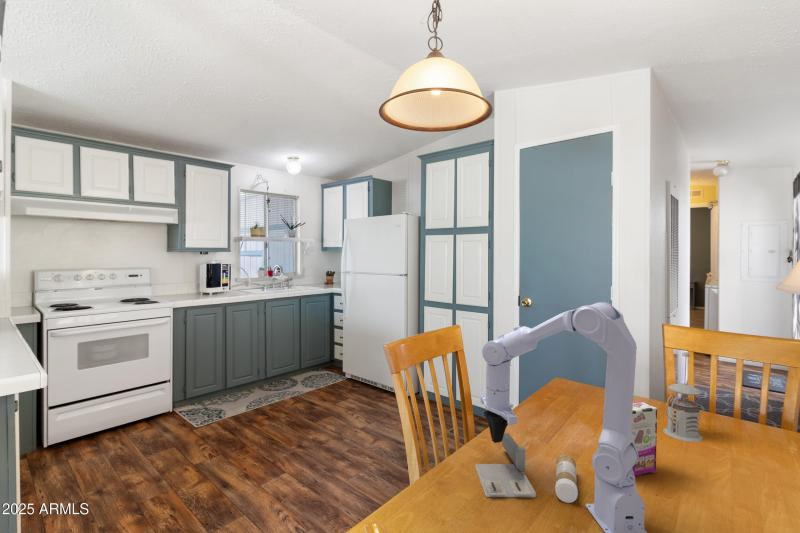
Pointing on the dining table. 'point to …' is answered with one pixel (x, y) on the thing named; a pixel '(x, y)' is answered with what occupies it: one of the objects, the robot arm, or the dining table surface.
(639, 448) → the candy bar box
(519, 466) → the grey knobbed handle
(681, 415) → the french press
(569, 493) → the sprinkles bottle
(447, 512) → the dining table surface
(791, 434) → the dining table surface
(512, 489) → the chassis plate
